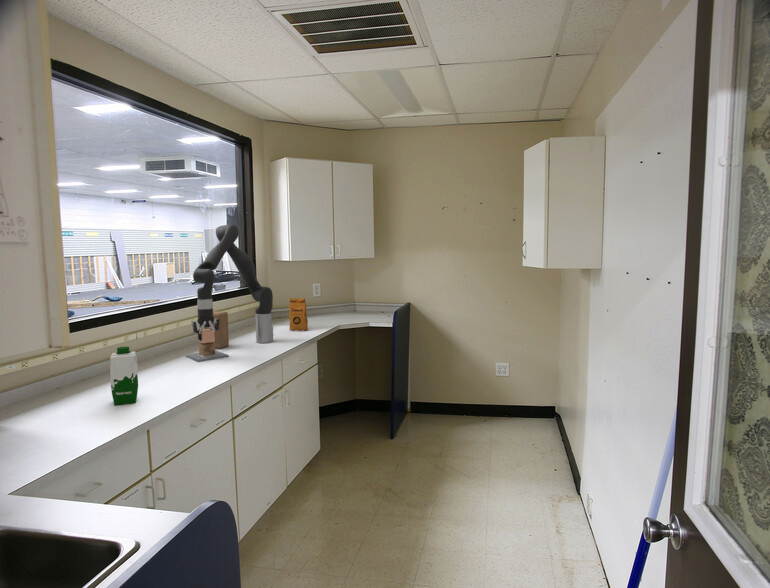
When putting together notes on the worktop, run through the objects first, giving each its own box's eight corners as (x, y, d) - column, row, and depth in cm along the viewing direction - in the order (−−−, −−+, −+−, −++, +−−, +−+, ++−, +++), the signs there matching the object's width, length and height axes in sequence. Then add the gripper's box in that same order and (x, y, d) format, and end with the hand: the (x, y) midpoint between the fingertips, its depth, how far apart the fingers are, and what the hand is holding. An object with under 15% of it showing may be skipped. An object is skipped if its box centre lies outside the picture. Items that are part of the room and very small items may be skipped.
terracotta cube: (210, 340, 257) (209, 328, 256) (214, 341, 252) (214, 330, 252) (198, 341, 253) (198, 330, 252) (203, 343, 248) (202, 331, 248)
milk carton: (139, 396, 187) (136, 345, 185) (138, 403, 178) (135, 350, 176) (113, 399, 183) (110, 347, 181) (110, 406, 175) (107, 352, 173)
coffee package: (305, 331, 326) (304, 299, 323) (287, 331, 327) (286, 298, 325) (309, 329, 335) (309, 297, 333) (292, 328, 337) (291, 297, 335)
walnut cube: (210, 352, 257) (210, 341, 257) (215, 354, 253) (214, 343, 252) (199, 354, 253) (198, 343, 253) (203, 356, 249) (203, 345, 248)
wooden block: (220, 349, 271) (219, 313, 269) (204, 348, 273) (202, 313, 271) (229, 345, 281) (228, 311, 279) (213, 345, 283) (212, 311, 281)
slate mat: (215, 352, 264) (215, 350, 264) (228, 356, 253) (228, 354, 253) (185, 356, 254) (185, 354, 254) (198, 361, 242) (197, 359, 242)
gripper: (215, 305, 258) (217, 337, 260) (188, 308, 249) (189, 340, 250) (221, 307, 253) (223, 339, 254) (194, 309, 243) (195, 342, 245)
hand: (206, 339), depth 252 cm, fingers closed on terracotta cube, 6 cm apart
